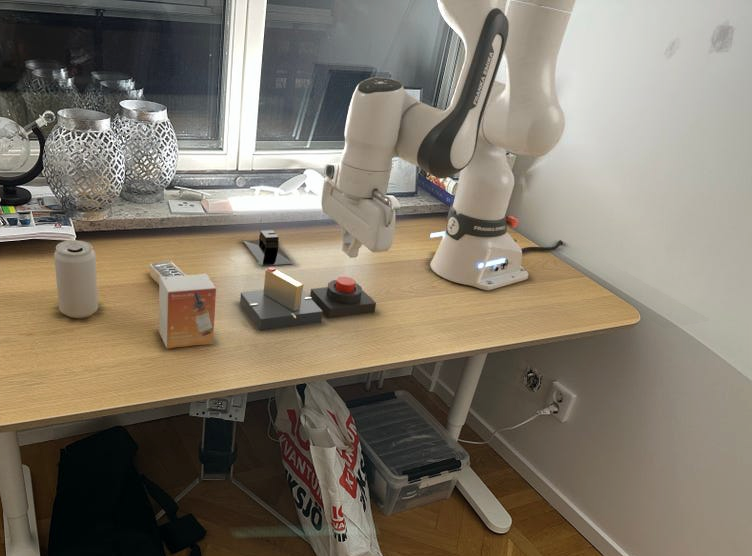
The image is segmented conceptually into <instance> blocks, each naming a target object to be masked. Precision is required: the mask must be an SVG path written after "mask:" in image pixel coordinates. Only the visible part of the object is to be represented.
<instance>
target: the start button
mask: <svg viewBox="0 0 752 556" xmlns="http://www.w3.org/2000/svg"><path fill="white" fill-rule="evenodd" d="M335 280H336V286H335V288H336V290H338V291H341V292H345V293H351V292H353V291H354V288H355V283H356V280H355V279H354V278H352V277H349V276H338V277H337V278H336V279H335Z"/></svg>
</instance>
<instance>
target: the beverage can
mask: <svg viewBox="0 0 752 556" xmlns="http://www.w3.org/2000/svg"><path fill="white" fill-rule="evenodd" d="M53 257H54V267H55V268H54V270H55V279H56V288H57V289H56V291H57V302H58V309H59V311H60V312H61V313H62V314H64V315H66V316H67V317H69V318H71V319H85V318H88V317H91V316H93V314H95V313H96V311H98V309H99V296H98V295H99V293H98V279H97V278H98V277H97V276H98V275H97V259H96V252H95V251H94V249H93V245H92V244H91V243H90V242H88V241H84V240H77V239H71V240H63V241H61V242H60V243H59V242H58V243H57V244H56V245H55V251H54V252H53Z"/></svg>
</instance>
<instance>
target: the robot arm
mask: <svg viewBox="0 0 752 556" xmlns="http://www.w3.org/2000/svg"><path fill="white" fill-rule="evenodd" d="M507 1H508V0H437V1H436V2H437V6H438V10H439V13H440V14H441V16H442V18H443V19H444V21H445V22H446V24H447V25H448V26H449V27H450V28H451V29H452V30H453V31H454V32H455V33H456V34H457V35H458V36H459V37H460V38H461V41H462V42H463V44H464V49H465V57H464V62H463V65H462V68H461V71H460V75H459V78H458V81H457V84H456V87H455V90H454V93H453V96H452V98H451V101H450V104H449V106H448V107H447V109H445V110H443V109H440V108H437V107H434V106H431V105H429V104H427V103H424V102H422V101H419V100H418V99H417V98H415V97H413V96H412V95H410V94H409V93H408V92H407V91H406V90H405V88H404V85H403V83H402V82H400V81H399V80H397V79H394V78H389V77H369V78H366V79H364V80H362V81H360V82H359V83H358V85H357V86H356V87H355V89H354V91H353V94H352V96H351V100H350V103H349V106H348V111H347V116H346V121H345V128H344V148H343V150H342V153H341V155H340V158H339V159H340V160H339V162H328V163H325V165H324V171H323V173H324V176H325V178H324V179H323V180H324V181H323V184H322V190H321V191H322V192H321V201H320V204H321V209H322V212H323V213H324V214H326V215H327V216H328V218H330V219H331V220H333V221H334V222H335V223H337V224H338V225H339V226H340V227H341V229H340V234H341V239H342V246H341V252H343V253H344V254H346V255H347V257H348V258H350V259H352V258H357V257H358V256H359V252H360V251H359V249H360V248H361V247H362V246H364V247H366V249H368V250H369V251H370V252H371V253H384V252H389V250H390V249H392V246H393V242H394V237H395V227H396V210H395V208H394V206H393V203H392V199H391V198H390V197H389V196H387V193H388V189H389V188H388V187H389V182H390V177H391V173H392V168H393V159H394V158H399V159H401V160H402V161H404V162H407V163H409V164H411V165H413V166H416V167H418V168H420V169H421V170H423V171H424V172H426V173H428V174H430V175H431V176H433V178H436V179H439V180H440V179H447V178H449V177H453V176H454V175H457V174H458V173H459V176H458V181H457V186H456V190H455V195H454V199H453V202H452V203H451V205H450V207H449V210H448V214H447V218H446V225H445V230H444V231H440V232H432V233H430V237H429V238H437V237H442V238H441V240H440V242H439V245H438V248H437V250H436V251H435V253H434V256H433V257H432V259H431V261H430V264H429V266H430V268H431V270H432V272H434V273H435V274H436V275H437V276H439V277H441V278H443V279H445V280H448V281H450V282H453V283H457V284H461V285H465V286H470V287H474V288H477V289H480V290H483V291H492V290H495V289H498V288H502V287H506V286H509V285H512V284H515V283H519V282H522V281H526V280H528V279H529V272H528V271H527V270H526V268H525V267H524V266H522V260H523V253H524V252H526V251H553V250H554V251H555V250H556V249H559V247H560V246H561V245H564V242H563V240H562V241H561V239H559V240H558V242H556V244H555V245H554V246H526V247H523V248H521V246H520V245H519V244H518V241H517V240H516V239H515V238H513V237H512V236H511V235H510V233H509V232H508V226H509V227H510V228H512V229H515V228H517V226H519V222H520V221H519V219H518V218H516V217H514V216H513V215H509V216H507V214H506V213H507V210H508V207H509V203H510V200H511V197H512V193H513V190H514V186H515V176H514V173H513V171H512V169H511V167H510V164H509V163H508V160H507V152H510V153H511V154H515V155H519V156H525V157H534V158H540V157H543V156H545V155H547V154H549V153H550V152H551V151H552V150H553V149H554V148H555V147H556V146H558V144H559V143H560V141H561V139H562V136H563V135H564V131H565V125H566V118H565V117H566V116H565V113H564V111H563V109H562V107H561V104H560V102H559V100H558V96H557V95H558V94H557V90H556V88H557V87H556V68H557V61H558V56H559V52H560V49H561V46H562V43H563V40H564V37H565V34H566V31H567V28H568V25H569V22H570V19H571V16H572V12H573V10H574V7H575V4H576V1H577V0H510V1H509V5H508V8H507V11H506V6H507ZM502 60H503V63H504V66H505V67H504V68H505V83H504V82H501V81H497V80H496V77H497V74H498V72H499V68H500V65H501V62H502ZM506 151H507V152H506Z"/></svg>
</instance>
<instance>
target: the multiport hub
mask: <svg viewBox="0 0 752 556" xmlns="http://www.w3.org/2000/svg"><path fill="white" fill-rule="evenodd" d="M186 275H187V274H185V273H184V272H183V271H181V269H180V268H179V267H178V266H176V264H174V262H172V261H171V260H170V261H169V260H168V261H162V262H155V263H150V264H149V276H150V277H151V278H152V279H153V281H155V282H156V283H157V285H159V279H160V277H172V276H186Z"/></svg>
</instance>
